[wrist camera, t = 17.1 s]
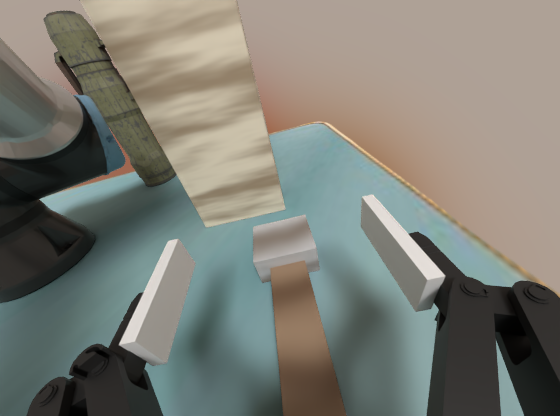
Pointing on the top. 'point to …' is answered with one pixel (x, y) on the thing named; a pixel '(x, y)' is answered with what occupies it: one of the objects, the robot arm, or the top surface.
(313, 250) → the hammer
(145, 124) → the thermos
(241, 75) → the pedestal
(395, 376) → the top surface
